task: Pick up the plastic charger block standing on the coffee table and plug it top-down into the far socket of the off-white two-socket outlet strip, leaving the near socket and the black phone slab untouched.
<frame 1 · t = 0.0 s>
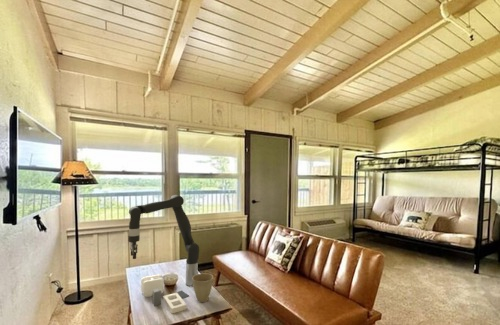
hand: (133, 257, 184), 29 cm above the table, fingers open, 8 cm apart
charger block: (156, 303, 176), on the table
plant pot: (202, 300, 183), on the table
cable organizer: (152, 293, 191), on the table
phone slab: (181, 295, 189), on the table
outlet plate: (174, 304, 175), on the table
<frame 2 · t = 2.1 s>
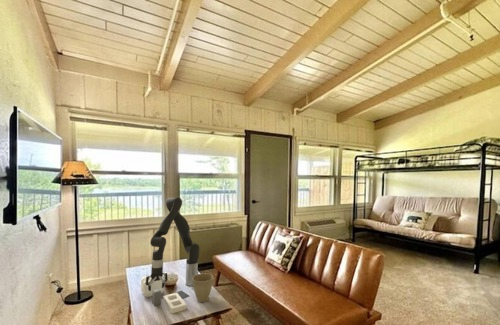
hand: (156, 289, 177), 10 cm above the table, fingers open, 8 cm apart
nothing on the table moved.
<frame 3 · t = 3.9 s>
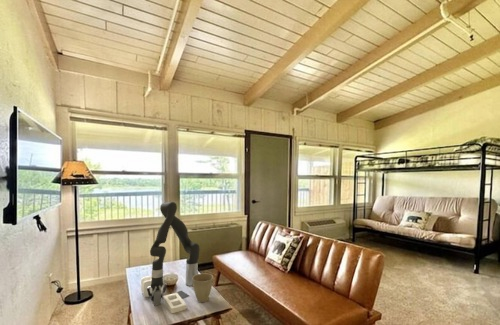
hand: (156, 300, 176), 2 cm above the table, fingers closed on charger block, 4 cm apart
charger block: (156, 303, 176), on the table, touching gripper
everything else where it was.
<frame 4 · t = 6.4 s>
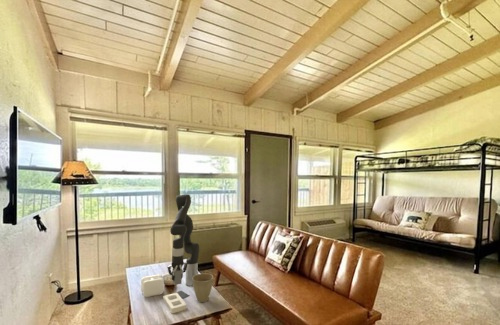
hand: (177, 279, 172), 19 cm above the table, fingers closed on charger block, 4 cm apart
charger block: (177, 283, 172), point 16 cm above the table, touching gripper
everything else where it was.
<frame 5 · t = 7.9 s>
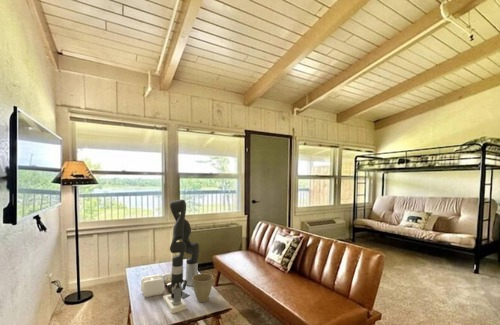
hand: (176, 297, 172), 7 cm above the table, fingers closed on charger block, 4 cm apart
charger block: (176, 300, 172), point 4 cm above the table, touching gripper
everything else where it was.
when the fingers open (4 cm above the table, at t = 9.2 s): charger block drops 1 cm, resting on outlet plate.
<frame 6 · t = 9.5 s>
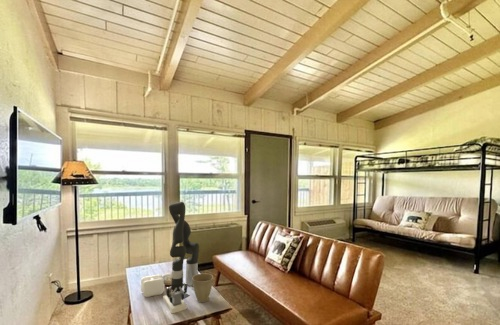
hand: (176, 301, 172), 4 cm above the table, fingers open, 6 cm apart
charger block: (176, 307, 172), resting on outlet plate
everything else where it was.
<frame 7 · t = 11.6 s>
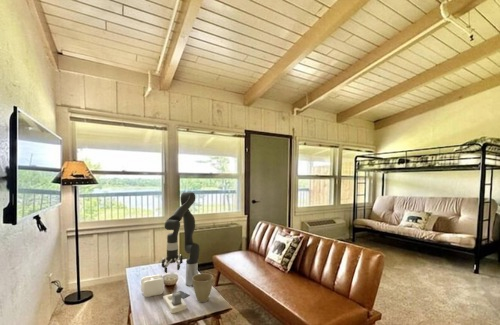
hand: (172, 271, 179), 21 cm above the table, fingers open, 8 cm apart
nothing on the table moved.
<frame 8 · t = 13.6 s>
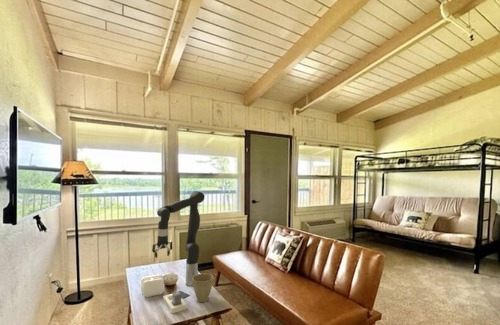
hand: (162, 256, 190), 28 cm above the table, fingers open, 8 cm apart
nothing on the table moved.
at the end: charger block 0.0 cm from the target spot on the outlet plate, point 0.2 cm above the outlet plate's base; charger block tilted 0°; the gripper is holding nothing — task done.
